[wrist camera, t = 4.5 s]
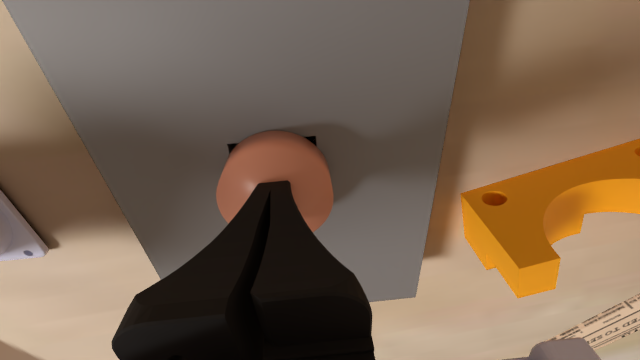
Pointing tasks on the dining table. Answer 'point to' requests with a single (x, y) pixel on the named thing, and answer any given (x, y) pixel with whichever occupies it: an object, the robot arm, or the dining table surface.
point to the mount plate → (259, 111)
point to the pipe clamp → (547, 213)
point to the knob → (277, 174)
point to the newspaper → (607, 324)
